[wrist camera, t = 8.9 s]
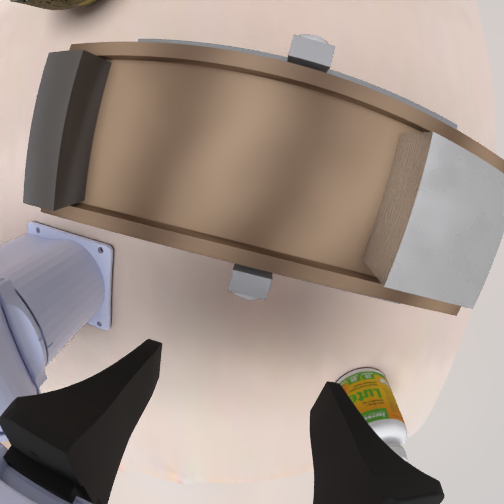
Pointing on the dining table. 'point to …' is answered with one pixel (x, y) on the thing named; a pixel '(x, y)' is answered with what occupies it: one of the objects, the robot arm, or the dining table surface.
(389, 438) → the supplement bottle
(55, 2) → the cup
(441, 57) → the dining table surface
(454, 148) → the block
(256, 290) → the stand
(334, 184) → the seesaw beam
